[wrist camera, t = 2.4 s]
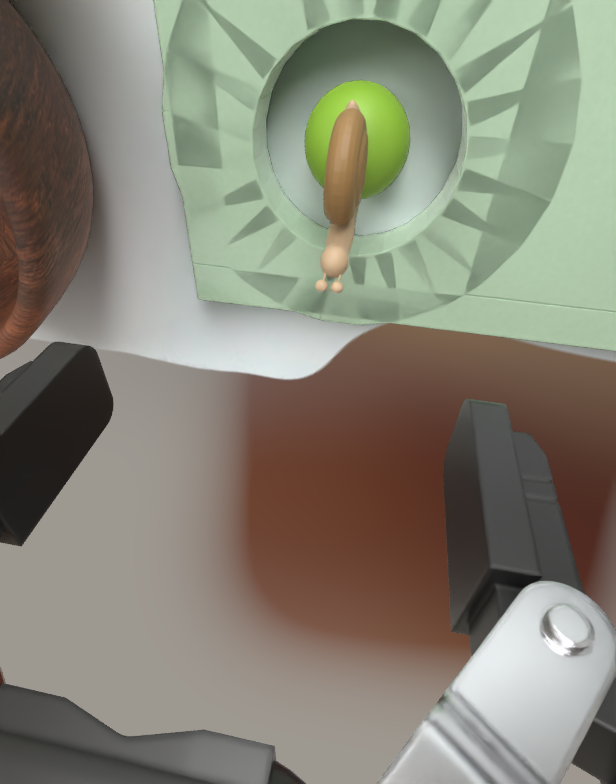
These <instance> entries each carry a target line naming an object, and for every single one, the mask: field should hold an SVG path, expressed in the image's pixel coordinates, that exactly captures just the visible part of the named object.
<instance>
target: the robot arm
mask: <svg viewBox="0 0 616 784" xmlns="http://www.w3.org/2000/svg"><path fill="white" fill-rule="evenodd" d="M112 411H113V397H112V394H111V391H110V388H109V385H108V382H107V380H106V377H105V374H104V371H103V368H102V366H101V363H100V360H99V357H98V354H97V352H96V350H95V349H94V348H93V347H91V346H86V345H79V344H71V343H64V342H54V343H52V344H50V345H49V346H48V347H47V348H46V349H45V350H44V351H43V352H42V353H41V354H40V355H39V356H38V357H37V358H36V359H35V360H34V361H30V362H28V363H26V364H24V365H23V366H21V367H19V368H17V369H15V370H14V371H12V372H10V373H8V374H7V375H5V376H4V377H3V378H2V379H1V380H0V542H1V543H7V544H12V545H17V546H22V545H23V544H24V542H25V541H26V539H27V538H28V536H29V535H30V533H31V532H32V531H33V529H34V528H35V526H36V525H37V524H38V522H39V521H40V519H41V518H42V516H43V515H44V514H45V512H46V511H47V509H48V508H49V507H50V505H51V504H52V502H53V501H54V499H55V498H56V496H57V495H58V494H59V492H60V491H61V489H62V488H63V486H64V485H65V484H66V482H67V481H68V480H69V478H70V477H71V475H72V474H73V473H74V471H75V470H76V468H77V467H78V465H79V464H80V462H81V461H82V460H83V458H84V457H85V455H86V454H87V453H88V451H89V450H90V448H91V447H92V446H93V444H94V443H95V441H96V440H97V438H98V437H99V436H100V434H101V433H102V431H103V430H104V429H105V427H106V425H107V424H108V422H109V421H110V418H111V416H112ZM443 477H444V497H445V518H446V535H447V556H448V577H449V597H450V616H451V632H456V633H461V634H466V635H470V647H471V658H470V660H469V661H468V662H467V664H466V665H465V666H464V668H463V669H462V670H461V672H460V673H459V674H458V676H457V677H456V678H455V680H454V681H453V682H452V684H451V685H450V686H449V688H448V689H447V690H446V692H445V693H444V694H443V695H442V697H441V698H440V699H439V701H438V702H437V703H436V705H435V706H434V707H433V709H432V710H431V711H430V713H429V714H428V715H427V717H426V718H425V719H424V721H423V722H422V723H421V725H420V726H419V727H418V729H417V730H416V731H415V733H414V734H413V735H412V737H411V738H410V739H409V741H408V742H407V743H406V745H405V746H404V747H403V749H402V750H401V751H400V753H399V754H398V755H397V757H396V758H395V759H394V761H393V762H392V763H391V765H390V766H389V767H388V769H387V770H386V771H385V773H384V774H383V775H382V777H381V778H380V779H379V781H378V782H377V783H376V784H560V783H561V781H562V779H563V777H564V776H565V774H566V772H567V770H568V768H569V766H570V764H571V763H572V764H574V765H576V766H578V767H579V768H581V769H583V770H584V771H586V772H587V773H589V774H591V775H592V776H594V777H596V778H597V779H599V780H600V782H601V784H616V629H615V628H614V626H613V624H612V623H611V621H610V620H609V618H608V617H607V615H606V614H605V613H604V612H603V610H602V609H601V608H600V607H599V606H598V605H597V604H596V603H595V602H594V601H593V600H591V599H590V598H589V597H588V596H586V594H585V592H584V590H583V587H582V584H581V581H580V578H579V574H578V571H577V567H576V564H575V560H574V556H573V552H572V549H571V545H570V541H569V537H568V534H567V530H566V526H565V523H564V519H563V515H562V512H561V508H560V505H559V504H558V503H557V501H558V497H557V494H556V489H555V486H554V484H552V480H553V478H552V475H551V471H550V467H549V464H548V460H547V456H546V455H545V453H544V452H543V451H542V449H541V448H540V447H539V445H538V444H537V443H536V441H535V440H534V439H533V438H532V436H531V435H530V434H528V433H521V432H514V431H512V427H511V423H510V418H509V413H508V409H507V406H506V405H505V404H501V403H494V402H487V401H480V400H471V399H466V400H465V401H464V403H463V405H462V407H461V410H460V413H459V416H458V419H457V422H456V424H455V427H454V430H453V433H452V436H451V439H450V442H449V444H448V447H447V451H446V455H445V462H444V475H443ZM0 784H306V783H305V782H304V781H302V780H301V779H300V778H299V777H298V776H297V775H295V774H294V773H293V772H292V771H291V770H290V769H288V768H287V767H285V766H283V765H282V764H280V763H279V762H277V761H276V755H275V746H272V745H268V744H263V743H259V742H255V741H250V740H246V739H241V738H237V737H233V736H229V735H224V734H220V733H216V732H211V731H207V730H197V731H186V732H175V733H165V734H155V735H143V736H123V735H121V734H119V733H117V732H116V731H114V730H113V729H111V728H110V727H108V726H107V725H105V724H104V723H102V722H100V721H99V720H98V719H96V718H95V717H93V716H92V715H90V714H89V713H87V712H86V711H84V710H83V709H81V708H80V707H78V706H77V705H76V704H74V703H73V702H71V701H70V700H68V699H67V698H64V697H60V696H56V695H52V694H47V693H43V692H38V691H34V690H30V689H25V688H21V687H17V686H12V685H8V684H6V682H5V678H4V675H3V672H2V670H1V668H0Z"/></svg>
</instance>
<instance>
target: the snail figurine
mask: <svg viewBox="0 0 616 784" xmlns="http://www.w3.org/2000/svg"><path fill="white" fill-rule="evenodd" d="M409 145H410V129H409V123H408V119H407V116H406V113H405V111H404V109H403V107H402V105H401V103H400V102H399V100H398V99H397V98H396V97H395V96H394V95H393V94H392V93H391V92H390V91H389V90H388V89H386V88H385V87H383V86H381V85H379V84H377V83H374V82H370V81H364V80H356V81H349V82H346V83H343V84H340V85H338V86H336V87H335V88H333V89H331V90H330V91H329V92H327V93H326V94H325V95H324V96H323V97H322V98H321V99H320V101H319V102H318V103H317V105H316V106H315V108H314V109H313V111H312V113H311V115H310V117H309V120H308V123H307V127H306V132H305V154H306V159H307V163H308V166H309V168H310V170H311V172H312V174H313V176H314V177H315V179H316V180H317V182H318V183H319V184H320V185H321V186H322V187H323V188H324V212H325V215H326V217H327V219H328V220H329V221H330V222H331V224H330V227H329V230H328V234H327V239H326V248H325V250H324V251H323V253H322V255H321V260H320V264H321V268H322V270H323V272H324V277H323V280H319V281H317V282H316V284H315V288H316V290H317V291H319V292H324V291H326V290H327V288H328V284H327V282H326V281H325V277H326V275H327V276H328V277H330V278H337V277H338V281H335V282H333V283H332V284H331V291H332V292H333V293H341V292H342V291H343V285H342V283H341V282H340V278H341V275H343V274H344V273H345V271H346V270H347V268H348V264H349V257H348V254H349V252H350V249H351V246H352V243H353V238H354V232H355V222H356V215H357V211H358V206H359V203H360V201H361V199H366V198H369V197H372V196H374V195H376V194H378V193H380V192H382V191H383V190H385V189H386V188H387V187H388V186H389V185H390V184H391V183H392V182H393V181H394V180H395V179H396V178H397V176H398V175H399V173H400V172H401V170H402V168H403V166H404V164H405V161H406V159H407V155H408V151H409Z"/></svg>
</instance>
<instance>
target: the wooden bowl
mask: <svg viewBox="0 0 616 784" xmlns="http://www.w3.org/2000/svg"><path fill="white" fill-rule="evenodd" d="M92 211H93V183H92V173H91V167H90V161H89V155H88V150H87V146H86V142H85V138H84V134H83V131H82V128H81V125H80V122H79V119H78V116H77V113H76V111H75V108H74V106H73V104H72V101H71V99H70V96H69V94H68V92H67V90H66V88H65V86H64V84H63V82H62V80H61V78H60V76H59V74H58V72H57V70H56V68H55V67H54V65H53V63H52V61H51V60H50V58H49V56H48V54H47V53H46V51H45V50H44V48H43V47H42V45H41V44H40V42H39V41H38V39H37V37H36V36H35V34H34V33H33V32H32V30H31V29H30V28H29V26H28V25H27V24H26V22H25V21H24V19H23V18H22V17H21V15H20V14H19V13H18V12H17V10H16V9H15V8H14V7H13V6H12V4H11V3H10V2H9V1H8V0H0V359H1V358H3V357H5V356H7V355H9V354H10V353H12V352H14V351H15V350H17V349H18V348H19V347H20V346H21V345H23V344H24V343H25V342H26V341H27V340H28V339H29V338H30V336H31V335H32V334H33V333H34V332H35V331H36V330H37V328H38V327H39V326H40V325H41V324H42V322H43V321H44V320H45V318H46V317H47V316H48V314H49V313H50V312H51V310H52V309H53V308H54V306H55V305H56V304H57V302H58V301H59V300H60V298H61V297H62V295H63V294H64V292H65V290H66V289H67V287H68V285H69V284H70V282H71V280H72V279H73V277H74V275H75V273H76V271H77V269H78V267H79V264H80V262H81V260H82V257H83V254H84V251H85V249H86V246H87V242H88V238H89V234H90V227H91V219H92Z"/></svg>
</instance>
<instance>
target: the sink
mask: <svg viewBox="0 0 616 784" xmlns="http://www.w3.org/2000/svg"><path fill="white" fill-rule="evenodd" d="M153 1H154V8H155V14H156V21H157V28H158V35H159V41H160V48H161V55H162V61H163V68H164V83H163V98H162V115H163V121H164V127H165V134H166V140H167V146H168V152H169V159H170V165H171V169H172V171H173V174H174V176H175V179H176V181H177V184H178V187H179V189H180V192H181V194H182V197H183V203H184V210H185V216H186V223H187V230H188V237H189V243H190V250H191V257H192V263H193V269H194V276H195V283H196V289H197V296H198V299H200V300H208V301H216V302H224V303H232V304H240V305H248V306H256V307H264V308H272V309H280V310H288V311H296V312H299V313H301V314H304V315H307V316H310V317H312V318H315V319H318V320H323V321H331V322H339V323H347V324H355V325H368V324H378V323H393V324H401V325H409V326H417V327H425V328H433V329H441V330H449V331H457V332H466V333H474V334H481V335H489V336H497V337H505V338H513V339H522V340H530V341H538V342H546V343H554V344H562V345H570V346H578V347H586V348H594V349H602V350H610V351H616V0H153ZM350 19H359V20H379V21H386V22H388V23H391V24H393V25H396V26H398V27H401V28H403V29H405V30H408V31H410V32H413V33H415V34H416V35H417V36H418V37H420V38H421V39H422V40H423V41H424V42H425V43H426V44H428V45H429V46H430V47H431V48H432V49H433V50H435V51H436V52H437V53H438V54H439V55H440V56H441V58H442V60H443V61H444V63H445V65H446V66H447V68H448V70H449V71H450V73H451V74H452V76H453V78H454V79H455V81H456V84H457V88H458V92H459V95H460V99H461V102H462V138H461V142H460V147H459V151H458V156H457V160H456V164H455V166H454V168H453V170H452V172H451V174H450V176H449V178H448V180H447V182H446V184H445V186H444V188H443V189H442V190H441V192H440V193H439V194H438V195H437V196H436V198H435V199H434V200H433V201H432V202H431V204H430V205H429V206H428V207H427V208H426V209H425V210H423V211H422V212H421V213H419V214H418V215H417V216H415V217H414V218H413V219H411V220H410V221H409V222H408V223H406V224H404V225H401V226H399V227H397V228H394V229H392V230H390V231H387V232H385V233H378V234H372V235H365V236H359V235H354V238H353V243H352V246H351V249H350V252H349V254H348V257H349V264H348V268H347V270H346V271H345V273H344V274H343V275H341V278H340V282H341V283H342V285H343V291H342V292H341V293H333V292H332V291H331V284H332V283H333V282H335V281H338V277H337V278H330V277H328V276H327V275H326V277H325V281H326V282H327V284H328V288H327V290H326V291H324V292H319V291H317V290H316V288H315V284H316V282H317V281H319V280H323V277H324V272H323V270H322V268H321V264H320V260H321V255H322V253H323V251H324V250H325V248H326V239H327V234H328V230H329V229H327V228H324V227H322V226H319V225H318V224H316V223H315V222H313V221H312V220H311V219H309V218H308V217H306V216H305V215H303V214H302V213H301V212H300V211H299V210H298V209H297V208H296V207H295V205H294V204H293V203H292V202H291V201H290V200H289V199H288V197H287V196H286V195H285V193H284V191H283V190H282V188H281V186H280V184H279V182H278V180H277V178H276V176H275V174H274V172H273V168H272V164H271V160H270V156H269V152H268V148H267V128H266V118H267V113H268V108H269V104H270V99H271V94H272V90H273V88H274V86H275V84H276V81H277V79H278V77H279V75H280V73H281V71H282V69H283V67H284V65H285V63H286V62H287V61H288V59H289V58H290V57H291V56H292V55H293V54H294V52H295V51H296V50H297V49H298V48H299V46H300V45H301V44H302V43H303V42H304V41H305V40H306V39H308V38H309V37H311V36H312V35H314V34H315V33H317V32H318V31H320V30H321V29H323V28H324V27H326V26H330V25H333V24H336V23H340V22H343V21H347V20H350Z"/></svg>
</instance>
